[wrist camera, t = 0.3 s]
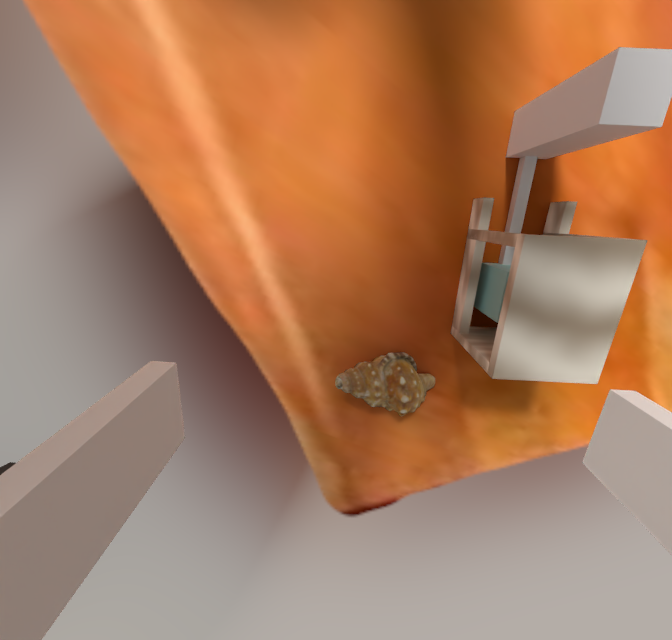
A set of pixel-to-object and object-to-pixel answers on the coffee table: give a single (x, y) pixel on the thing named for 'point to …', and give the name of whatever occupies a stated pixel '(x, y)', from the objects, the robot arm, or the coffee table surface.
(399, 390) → the seashell
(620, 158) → the coffee table surface
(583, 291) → the shelf
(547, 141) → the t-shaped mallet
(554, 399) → the coffee table surface
